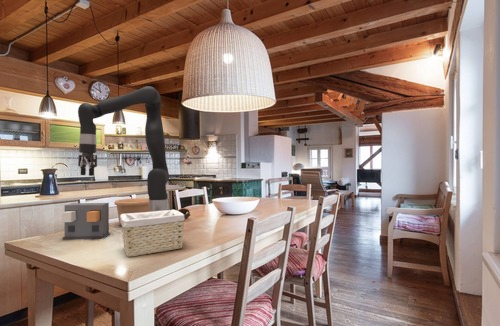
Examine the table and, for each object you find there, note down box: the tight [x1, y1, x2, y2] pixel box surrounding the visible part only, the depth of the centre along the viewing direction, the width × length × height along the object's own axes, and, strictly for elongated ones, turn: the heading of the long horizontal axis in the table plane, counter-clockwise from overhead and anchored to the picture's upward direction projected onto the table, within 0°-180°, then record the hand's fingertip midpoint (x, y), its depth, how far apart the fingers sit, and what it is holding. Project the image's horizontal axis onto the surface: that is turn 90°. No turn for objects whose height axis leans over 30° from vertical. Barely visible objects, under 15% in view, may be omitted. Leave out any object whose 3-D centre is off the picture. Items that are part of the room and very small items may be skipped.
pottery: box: [114, 197, 149, 228], centre depth 167 cm, size 22×22×14 cm
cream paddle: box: [61, 211, 77, 223], centre depth 133 cm, size 5×4×4 cm
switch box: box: [62, 202, 111, 240], centre depth 139 cm, size 8×18×16 cm, turn 94°
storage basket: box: [120, 209, 186, 258], centre depth 119 cm, size 24×16×15 cm
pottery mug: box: [176, 207, 191, 220], centre depth 181 cm, size 12×10×8 cm
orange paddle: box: [87, 211, 101, 222], centre depth 134 cm, size 5×4×4 cm
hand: (87, 175), depth 144 cm, fingers open, 8 cm apart
